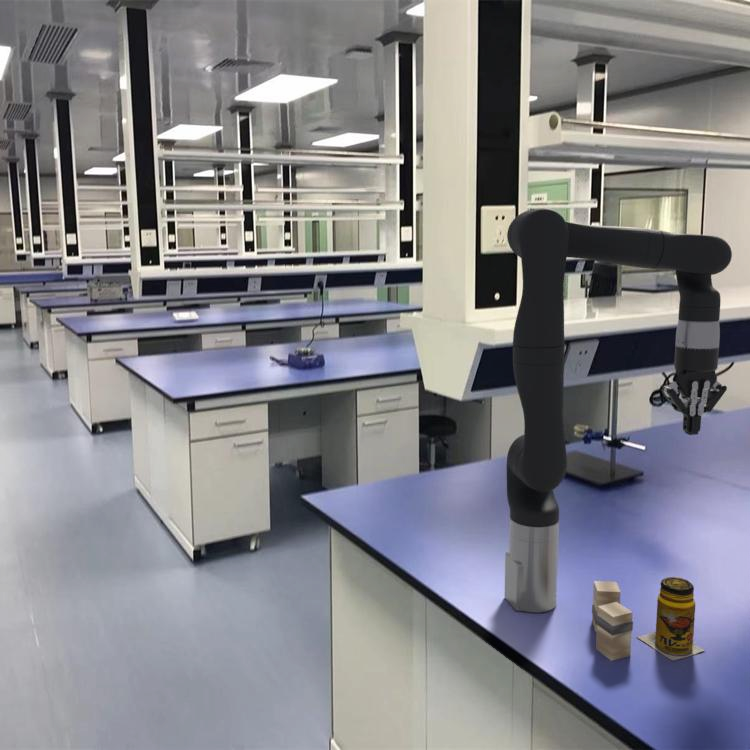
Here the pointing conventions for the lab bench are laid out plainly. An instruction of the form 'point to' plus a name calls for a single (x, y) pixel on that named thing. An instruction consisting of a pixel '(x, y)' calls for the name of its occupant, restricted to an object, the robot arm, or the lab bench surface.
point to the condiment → (674, 620)
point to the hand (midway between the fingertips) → (691, 433)
